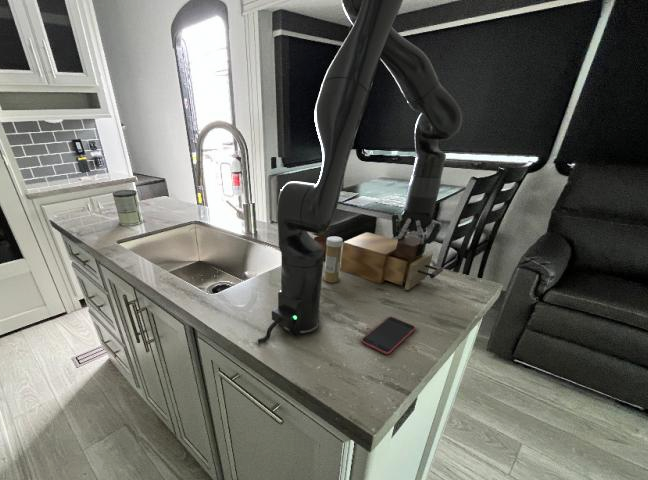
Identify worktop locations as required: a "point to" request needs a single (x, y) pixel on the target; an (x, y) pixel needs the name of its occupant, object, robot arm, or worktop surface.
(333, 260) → the sprinkles bottle
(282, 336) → the worktop surface
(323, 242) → the cup and saucer
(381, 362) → the worktop surface
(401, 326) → the smartphone
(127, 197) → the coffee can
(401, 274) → the drawer
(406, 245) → the block
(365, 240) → the cabinet
